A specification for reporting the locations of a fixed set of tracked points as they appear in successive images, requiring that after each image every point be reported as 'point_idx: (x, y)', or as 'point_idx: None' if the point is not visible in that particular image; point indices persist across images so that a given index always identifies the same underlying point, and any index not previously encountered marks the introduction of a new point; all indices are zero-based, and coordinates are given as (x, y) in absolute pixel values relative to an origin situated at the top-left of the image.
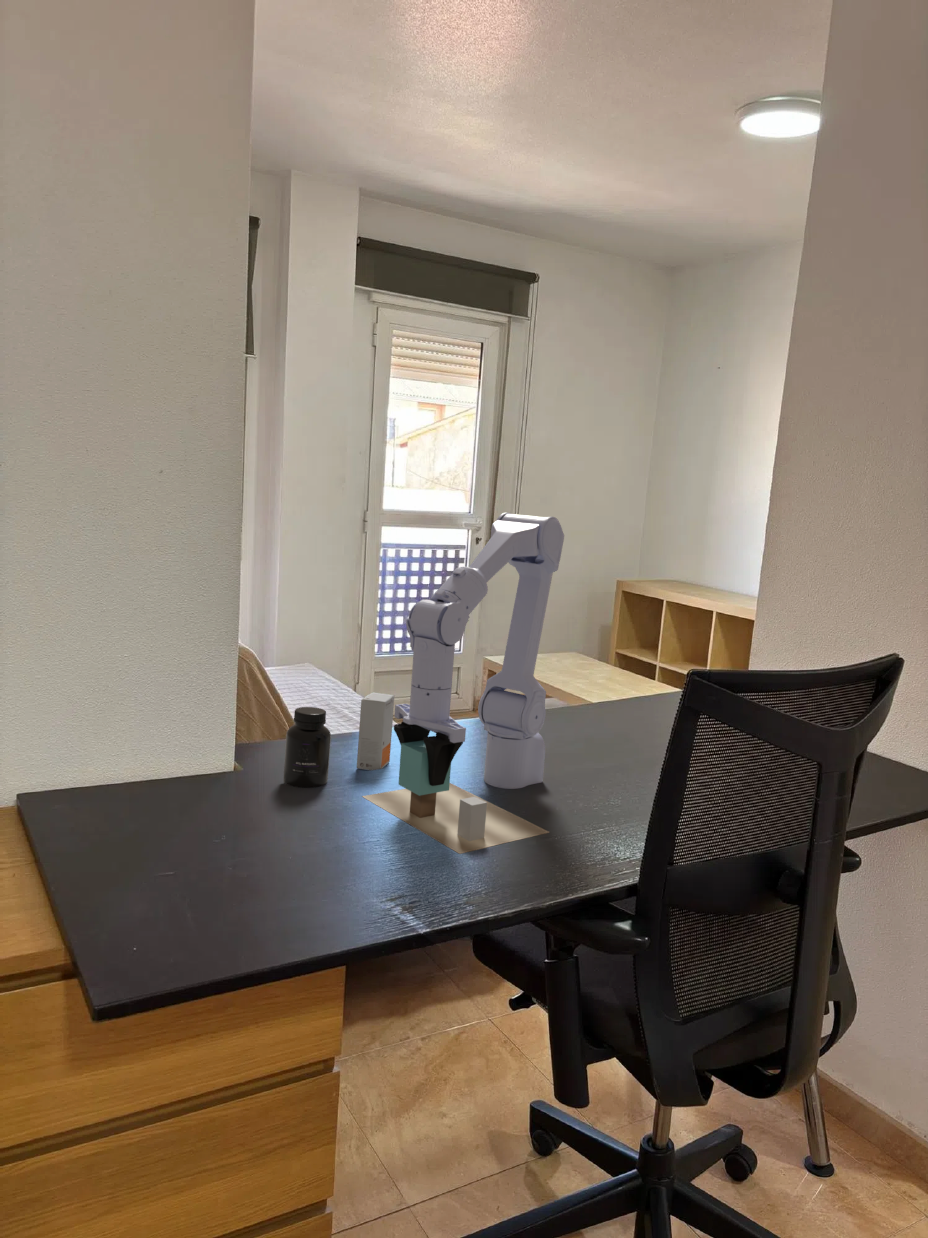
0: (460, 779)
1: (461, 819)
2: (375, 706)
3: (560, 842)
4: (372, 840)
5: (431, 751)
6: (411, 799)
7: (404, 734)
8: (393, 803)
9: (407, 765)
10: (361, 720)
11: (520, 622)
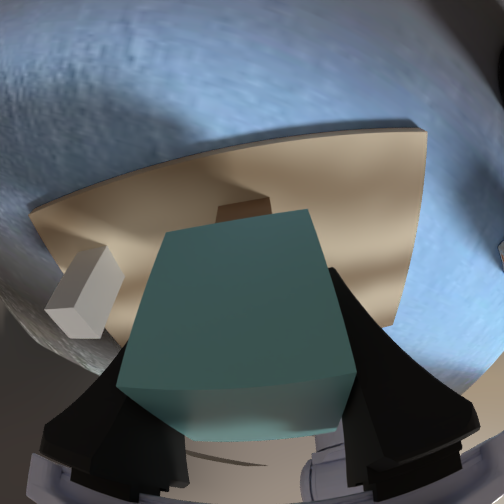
0: (398, 338)
1: (84, 273)
2: None
3: (117, 349)
4: (133, 44)
5: (81, 409)
6: None
7: (371, 432)
8: (348, 183)
9: (256, 287)
10: None
11: None
